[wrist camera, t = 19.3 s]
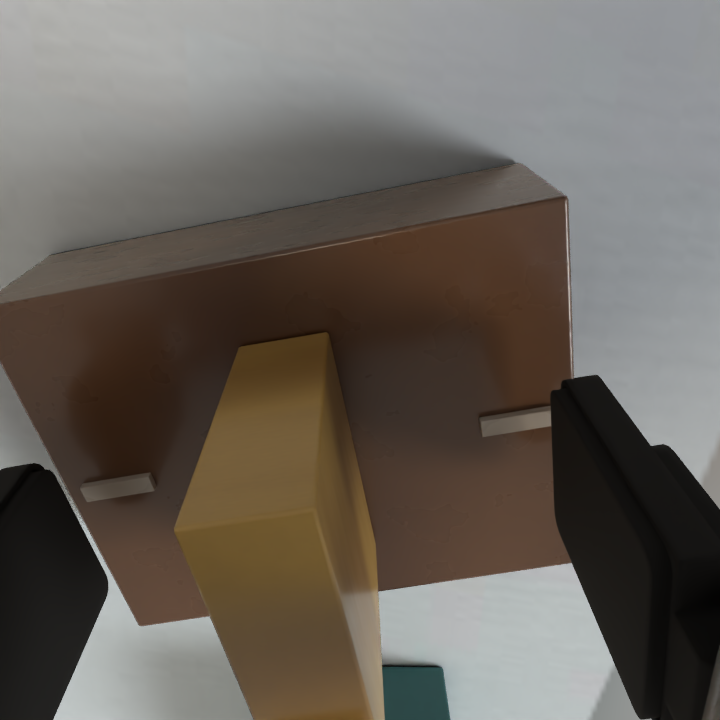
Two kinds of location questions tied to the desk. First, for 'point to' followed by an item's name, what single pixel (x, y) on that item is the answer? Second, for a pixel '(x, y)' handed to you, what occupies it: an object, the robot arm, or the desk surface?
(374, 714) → the thumb turn
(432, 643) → the desk surface
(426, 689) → the key block
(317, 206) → the lock plate
